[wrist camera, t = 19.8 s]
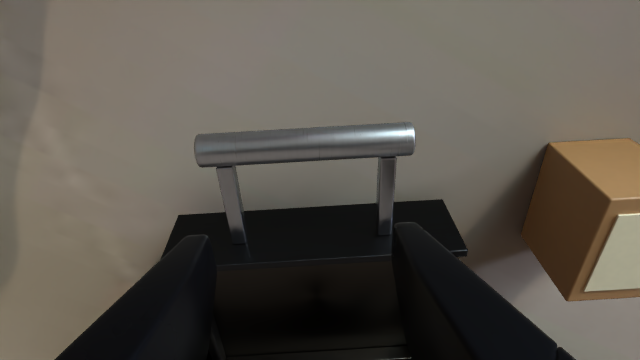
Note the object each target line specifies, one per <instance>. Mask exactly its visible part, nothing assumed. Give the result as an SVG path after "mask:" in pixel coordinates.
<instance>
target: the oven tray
mask: <svg viewBox="0 0 640 360" xmlns="http://www.w3.org/2000/svg"><path fill="white" fill-rule="evenodd" d="M414 150H415V130H414V127H413V124H412V123H410V122H402V123H384V124H367V125H350V126H332V127H315V128H298V129H280V130H263V131H246V132H228V133H211V134H198V135H197V136H196V138H195V142H194V153H195V158H196V161H197V164H198V166H199V167H217V168H216V171H217V175H218V180H219V184H220V189H221V194H222V198H223V203H224V208H225V212H222V213H205V214H189V215H178V218H177V220H176V223H175V225H174V228H173V230H172V233H171V235H170V238H169V240H168V242H167V245H166V247H165V250H164V252H163V255H162V257H161V259H162V258H163V257H164V256H165V255H166V254H167V253H168V252H169V251H171V250H172V249H173V248H174V247H175V246H176V245H177V244H178V243H179V242H180V241H181V240H182V239H183V238H185V237H186V236H189V235H203V234H204V235H207V236H208V237H209V239H210V242H211V246H212V250H213V254H214V258H215V261H216V266H217V279H216V288H215V297H214V306H213V316H212V325H211V334H210V342H209V352H210V355H211V358H212V360H412V359H411V355H410V352H409V349H408V345H407V341H406V338H405V334H404V329H403V324H402V318H401V313H400V307H399V301H398V295H397V290H396V284H395V278H394V272H393V267H392V256H391V254H392V239H393V227H394V225H395V224H396V223H401V222H415V223H417V224H418V225H419V226H421V227H422V228H423V229H424V230H425V231H426V232H428V233H429V234H430V235H431V236H432V237H433V238H435V239H436V240H437V241H438V242H439V243H440V244H442V245H443V246H444V247H445V248H446V249H447V250H449V251H450V252H451V253H452V254H453V255H454V256H456V257H464V256H467V253H468V249H467V247H466V245H465V243H464V241H463V239H462V237H461V235H460V233H459V231H458V229H457V227H456V225H455V223H454V221H453V219H452V217H451V215H450V213H449V212H448V210H447V208H446V206H445V204H444V202H443V200H442V199H440V200H423V201H407V202H394V190H395V175H396V161H397V158H396V156H407V155H412V154H413V153H414ZM373 157H378V175H377V200H376V203H373V204H356V205H340V206H323V207H306V208H289V209H272V210H256V211H244V210H243V204H242V199H241V193H240V188H239V183H238V177H237V172H236V165H253V164H271V163H288V162H305V161H322V160H339V159H356V158H373Z"/></svg>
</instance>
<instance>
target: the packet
mask: <svg viewBox="0 0 640 360" xmlns="http://www.w3.org/2000/svg"><path fill="white" fill-rule="evenodd" d="M521 236H522V238H523V239H524V241H525V242H526V244H527V245H528V246H529V248H530V249H531V251H532V252H533V254H534V255H535V257H536V258H537V260H538V261H539V262H540V264H541V265H542V267H543V268H544V270H545V271H546V273H547V274H548V275H549V277H550V278H551V280H552V281H553V283H554V284H555V286H556V287H557V288H558V290H559V291H560V293H561V294H562V296H563V297H564V299H565V300H566V301H582V300H598V299H614V298H631V297H640V145H639V144H637V143H636V142H634V141H633V140H631V139H630V138H624V139H606V140H589V141H571V142H554V143H548V146H547V149H546V153H545V156H544V159H543V163H542V166H541V169H540V173H539V176H538V179H537V183H536V186H535V189H534V193H533V196H532V199H531V203H530V206H529V209H528V212H527V216H526V219H525V222H524V226H523V229H522V232H521Z"/></svg>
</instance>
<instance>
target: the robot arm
mask: <svg viewBox="0 0 640 360" xmlns="http://www.w3.org/2000/svg"><path fill="white" fill-rule="evenodd" d="M391 256H392V267H393V272H394V278H395V284H396V290H397V295H398V301H399V307H400V313H401V318H402V324H403V329H404V334H405V338H406V341H407V345H408V349H409V352H410V355H411V359H412V360H576V359H574V358H573V357H572V356H571V355H570V354H569V353H568V352H566V351H565V350H564V349H563V348H561V347H558V348H557V344H556V342H554V341H553V340H552V339H551V338H550V337H549V336H547V335H546V334H545V333H544V332H543V331H542V330H540V329H539V328H538V327H537V326H536V325H535V324H533V323H532V322H531V321H530V320H529V319H528V318H527V317H525V316H524V315H523V314H522V313H521V312H520V311H518V310H517V309H516V308H515V307H514V306H513V305H511V304H510V303H509V302H508V301H507V300H506V299H504V298H503V297H502V296H501V295H500V294H499V293H497V292H496V291H495V290H494V289H493V288H492V287H490V286H489V285H488V284H487V283H486V282H485V281H483V280H482V279H481V278H480V277H479V276H478V275H476V274H475V273H474V272H473V271H472V270H471V269H470V268H468V267H467V266H466V265H465V264H464V263H463V262H461V261H460V260H459V259H458V258H457V257H456V256H454V255H453V254H452V253H451V252H450V251H449V250H447V249H446V248H445V247H444V246H443V245H442V244H440V243H439V242H438V241H437V240H436V239H435V238H433V237H432V236H431V235H430V234H429V233H428V232H426V231H425V230H424V229H423V228H422V227H421V226H419V225H418V224H417V223H415V222H401V223H396V224H395V225H394V227H393V239H392V254H391ZM216 279H217V266H216V261H215V258H214V254H213V250H212V246H211V242H210V239H209V237H208V236H207V235H204V234H203V235H189V236H186V237H185V238H183V239H182V240H181V241H180V242H179V243H178V244H177V245H176V246H175V247H174V248H173V249H172V250H171V251H169V252H168V253H167V254H166V255H165V256H164V257H163V258H162V259H161V260H160V261H159V262H158V263H157V264H156V265H155V266H153V267H152V268H151V269H150V270H149V271H148V272H147V273H146V274H145V275H144V276H143V277H142V278H141V279H140V280H139V281H138V282H136V283H135V284H134V285H133V286H132V287H131V288H130V289H129V290H128V291H127V292H126V293H125V294H124V295H123V296H122V297H121V298H119V299H118V300H117V301H116V302H115V303H114V304H113V305H112V306H111V307H110V308H109V309H108V310H107V311H106V312H105V313H103V314H102V315H101V316H100V317H99V318H98V319H97V320H96V321H95V322H94V323H93V324H92V325H91V326H90V327H89V328H88V329H86V330H85V331H84V332H83V333H82V334H81V335H80V336H79V337H78V338H77V339H76V340H75V341H74V342H73V343H72V344H71V345H69V346H68V347H67V348H66V349H65V350H64V351H63V352H62V353H61V354H60V355H59V356H58V357H57V358H56V359H55V360H206V359H207V354H208V349H209V342H210V334H211V325H212V316H213V306H214V297H215V288H216Z"/></svg>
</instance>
